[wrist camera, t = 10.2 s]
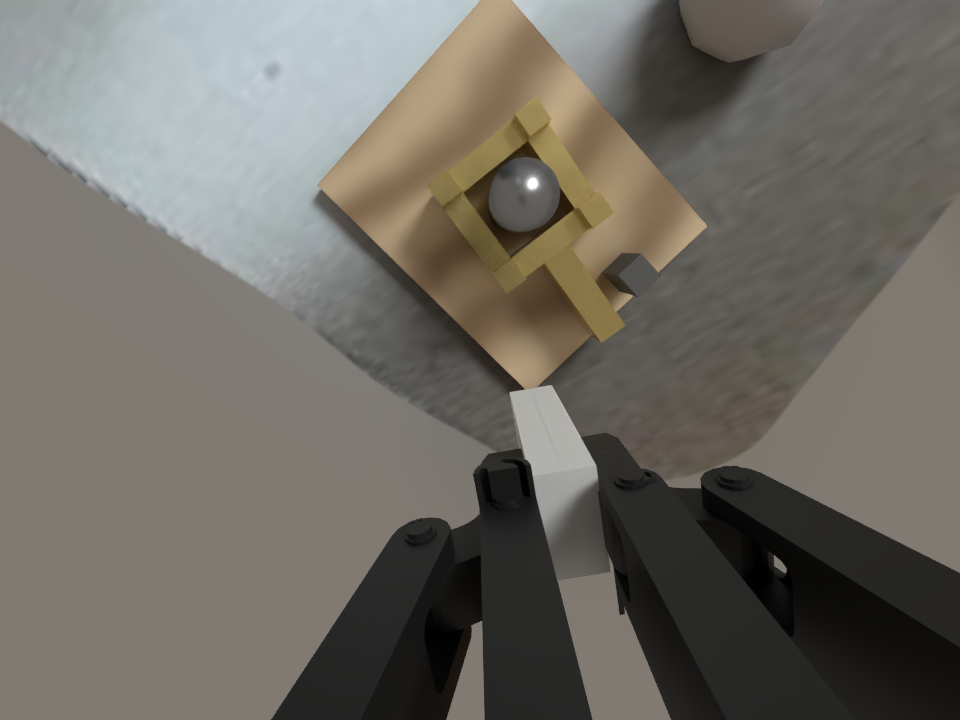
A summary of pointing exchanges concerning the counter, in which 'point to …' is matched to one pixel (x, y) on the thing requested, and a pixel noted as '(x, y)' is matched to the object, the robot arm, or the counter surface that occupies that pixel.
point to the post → (523, 196)
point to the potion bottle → (744, 25)
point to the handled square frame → (551, 243)
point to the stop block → (631, 273)
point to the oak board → (454, 135)
